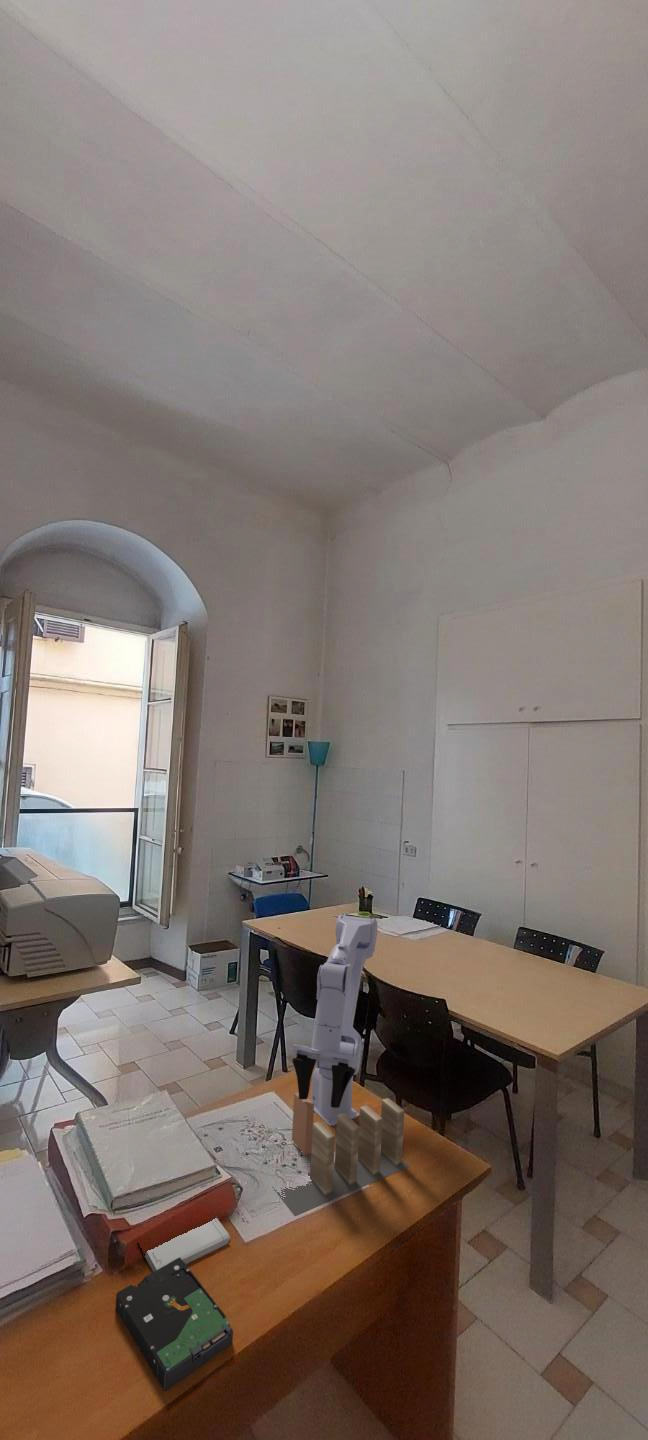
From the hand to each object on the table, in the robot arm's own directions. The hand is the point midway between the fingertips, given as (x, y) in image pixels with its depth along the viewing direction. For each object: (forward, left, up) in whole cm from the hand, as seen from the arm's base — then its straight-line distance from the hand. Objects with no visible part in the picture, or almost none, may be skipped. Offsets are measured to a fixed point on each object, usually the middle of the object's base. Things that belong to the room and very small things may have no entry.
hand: (318, 1103), depth 121 cm
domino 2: (+6, -3, -11) cm, 13 cm away
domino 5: (+6, +14, -11) cm, 19 cm away
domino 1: (-5, 0, -11) cm, 12 cm away
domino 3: (+6, +3, -11) cm, 13 cm away
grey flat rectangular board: (+6, +2, -11) cm, 13 cm away
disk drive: (+19, -35, -12) cm, 42 cm away
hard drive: (+6, -29, -12) cm, 32 cm away
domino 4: (+6, +8, -11) cm, 15 cm away
